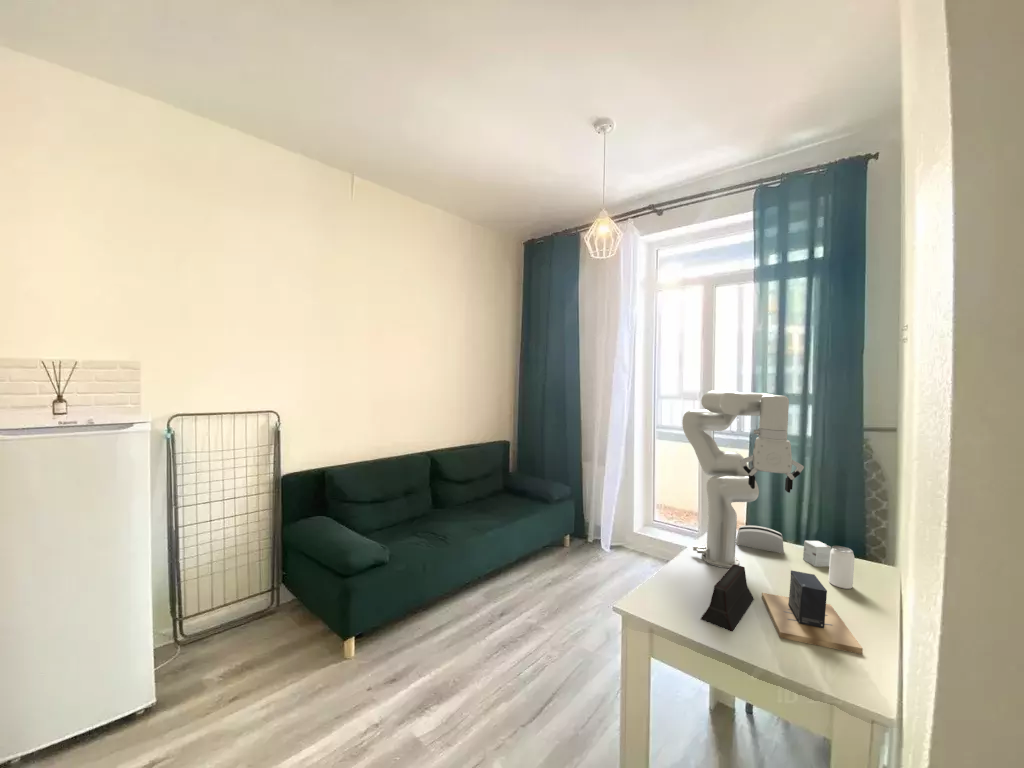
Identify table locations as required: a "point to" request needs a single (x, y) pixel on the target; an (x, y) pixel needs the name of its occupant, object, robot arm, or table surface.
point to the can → (841, 567)
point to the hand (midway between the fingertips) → (769, 489)
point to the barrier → (729, 599)
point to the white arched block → (760, 538)
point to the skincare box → (816, 553)
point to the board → (789, 628)
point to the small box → (807, 599)
